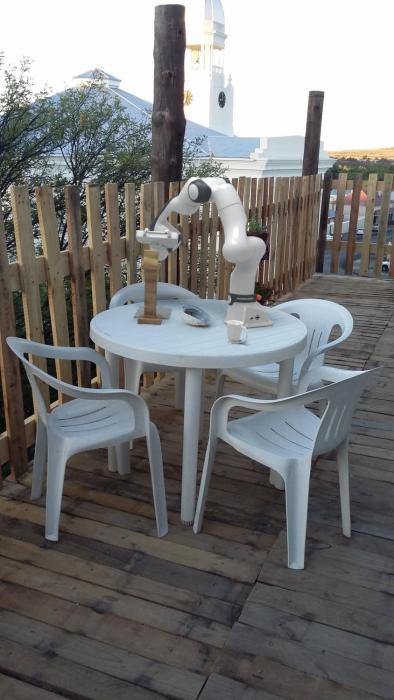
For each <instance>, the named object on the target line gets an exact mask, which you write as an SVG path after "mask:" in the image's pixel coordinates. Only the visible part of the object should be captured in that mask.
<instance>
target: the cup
mask: <svg viewBox="0 0 394 700" xmlns="http://www.w3.org/2000/svg"><path fill="white" fill-rule="evenodd" d="M225 326H226V334H227V339H228V341H227V342H228V343H231V344H240V343H243V342H245V341H246V340H247V339H248V337H249V333H248V328H245V327H243V322H241V321H235V320H232V321H227V322H226V323H225ZM243 329H244V331H245V338H244V339H243V340H241V341H239V340H240V338H241V335H242V332H243Z"/></svg>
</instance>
